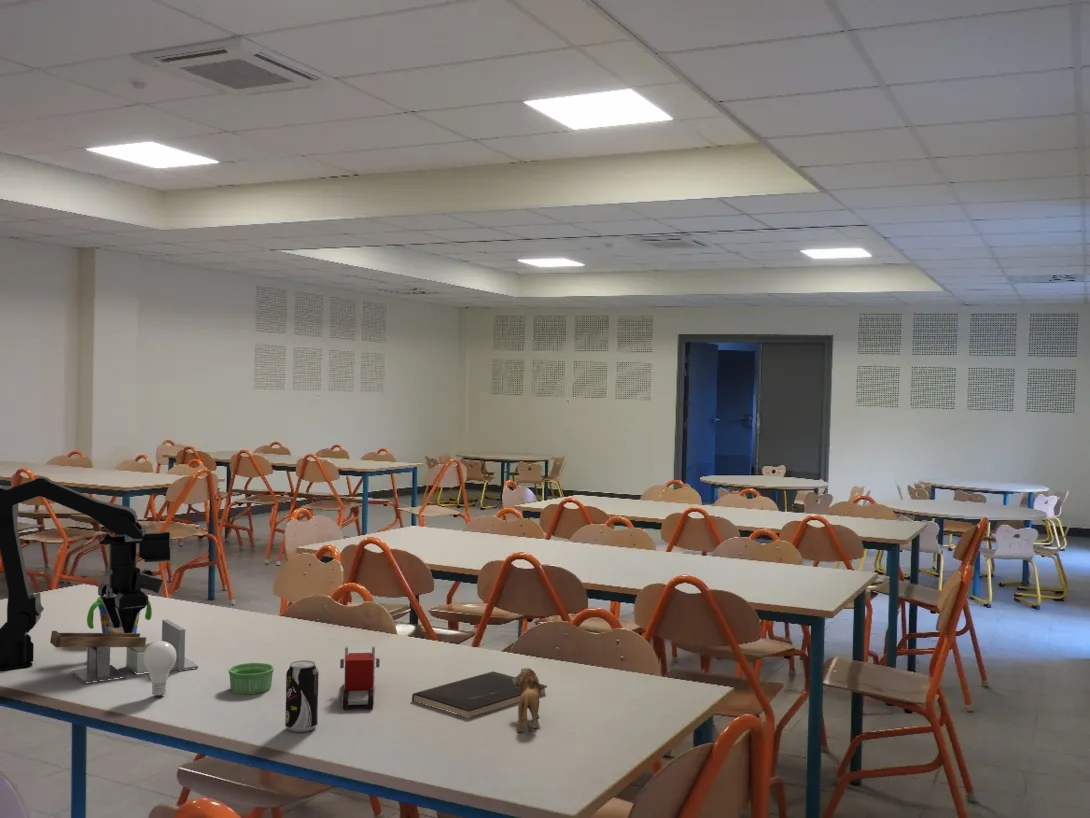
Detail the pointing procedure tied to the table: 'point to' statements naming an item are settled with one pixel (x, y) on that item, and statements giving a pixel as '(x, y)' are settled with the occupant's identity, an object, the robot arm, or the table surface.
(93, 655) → the fulcrum
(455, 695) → the hardcover book
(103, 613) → the snack cup
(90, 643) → the lever
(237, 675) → the ramekin
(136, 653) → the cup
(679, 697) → the table surface
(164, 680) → the lightbulb
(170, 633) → the backboard
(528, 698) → the lion figurine
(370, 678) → the toy truck
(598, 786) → the table surface
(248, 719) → the table surface
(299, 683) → the beverage can
